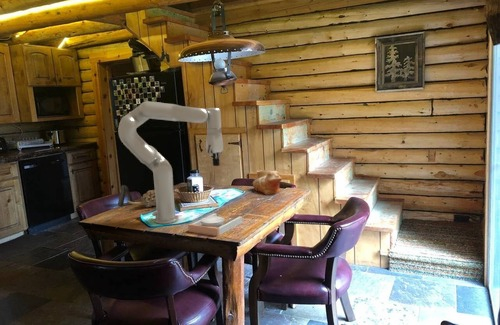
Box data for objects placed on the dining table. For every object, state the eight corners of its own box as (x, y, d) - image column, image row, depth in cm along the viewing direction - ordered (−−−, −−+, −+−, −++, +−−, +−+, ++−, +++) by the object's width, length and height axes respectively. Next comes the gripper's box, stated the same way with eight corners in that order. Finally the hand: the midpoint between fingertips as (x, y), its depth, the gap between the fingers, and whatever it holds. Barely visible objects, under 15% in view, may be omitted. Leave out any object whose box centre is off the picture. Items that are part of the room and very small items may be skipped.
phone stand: (120, 206, 244) (118, 187, 242) (117, 204, 249) (115, 186, 247) (134, 204, 249) (133, 185, 247) (132, 202, 254) (130, 183, 252)
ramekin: (218, 234, 185) (218, 223, 185) (197, 232, 189) (196, 222, 188) (227, 226, 196) (227, 216, 195) (207, 225, 200) (206, 215, 199)
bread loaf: (269, 196, 253) (268, 173, 251) (249, 189, 276) (248, 168, 274) (287, 193, 260) (286, 170, 258) (266, 186, 283) (265, 165, 280)
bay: (188, 231, 191) (187, 224, 191) (214, 218, 210) (214, 212, 209) (217, 236, 183) (217, 228, 182) (242, 222, 202) (241, 215, 201)
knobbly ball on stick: (159, 202, 250) (157, 187, 248) (166, 205, 242) (165, 189, 241) (125, 209, 236) (123, 193, 235) (131, 212, 229) (130, 196, 227)
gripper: (216, 130, 219) (218, 163, 222) (200, 132, 207) (202, 167, 209) (227, 130, 216) (229, 163, 218) (212, 132, 203) (214, 168, 206)
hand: (216, 165), depth 214 cm, fingers closed
